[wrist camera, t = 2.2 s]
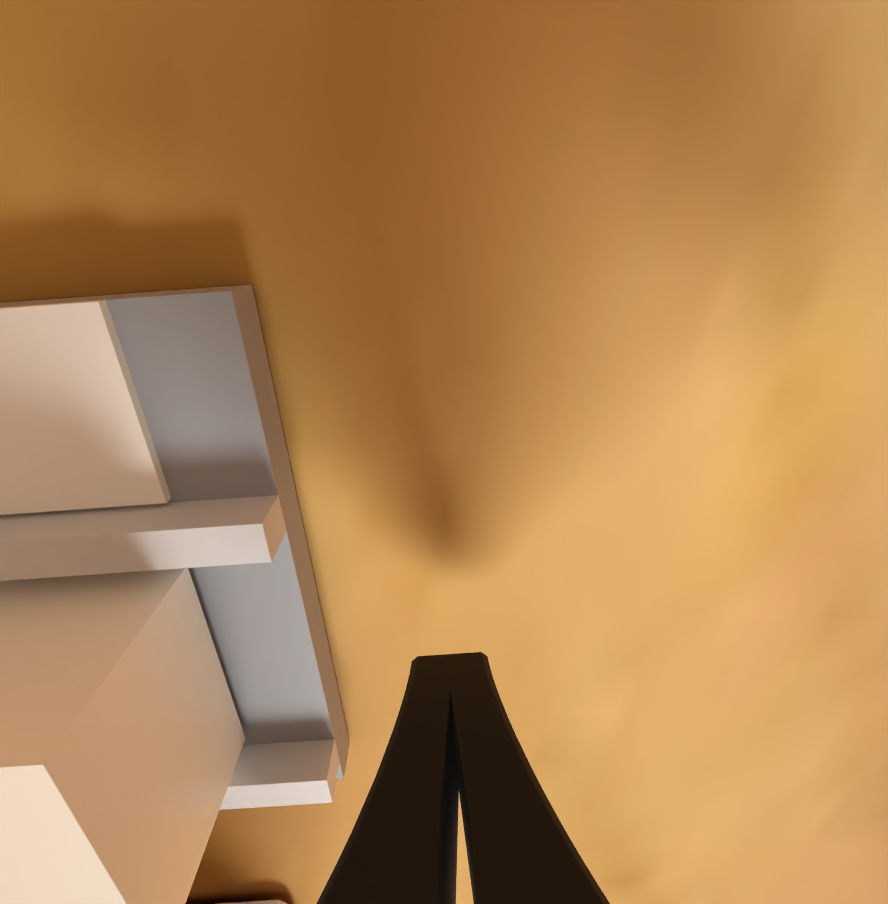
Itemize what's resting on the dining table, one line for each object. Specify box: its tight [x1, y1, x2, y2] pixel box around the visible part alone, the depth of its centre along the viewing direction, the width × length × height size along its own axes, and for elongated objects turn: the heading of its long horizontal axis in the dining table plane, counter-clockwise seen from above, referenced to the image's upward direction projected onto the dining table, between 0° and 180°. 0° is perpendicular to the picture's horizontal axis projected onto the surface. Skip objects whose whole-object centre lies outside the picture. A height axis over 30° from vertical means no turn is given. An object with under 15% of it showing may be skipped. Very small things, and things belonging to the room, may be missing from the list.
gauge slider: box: [0, 568, 245, 904], centre depth 8 cm, size 8×4×4 cm, turn 4°
